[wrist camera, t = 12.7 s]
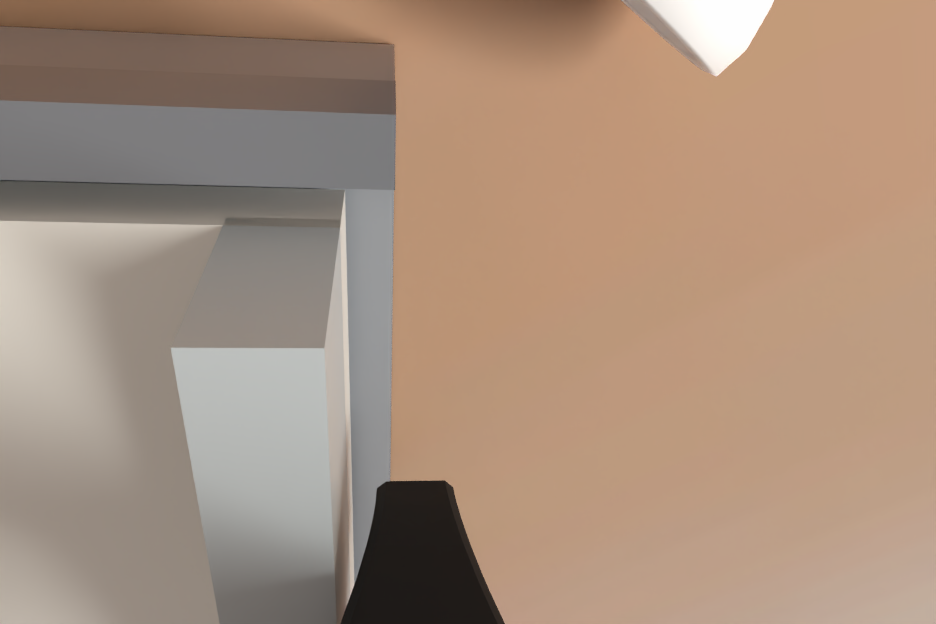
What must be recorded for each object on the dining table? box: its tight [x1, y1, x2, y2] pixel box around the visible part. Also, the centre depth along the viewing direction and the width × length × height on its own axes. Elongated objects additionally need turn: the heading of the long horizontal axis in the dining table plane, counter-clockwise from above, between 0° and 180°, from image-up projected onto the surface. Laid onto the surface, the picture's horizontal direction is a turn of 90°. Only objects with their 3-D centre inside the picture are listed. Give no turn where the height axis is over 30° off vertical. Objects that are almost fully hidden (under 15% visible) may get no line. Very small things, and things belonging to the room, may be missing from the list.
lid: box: [0, 181, 354, 624], centre depth 9 cm, size 8×8×3 cm
